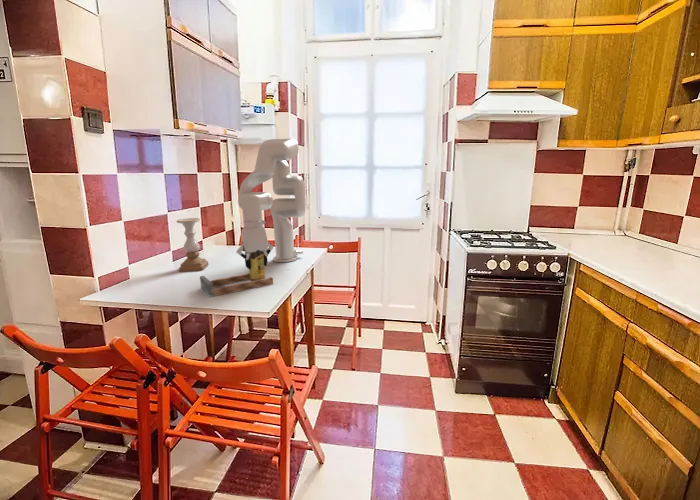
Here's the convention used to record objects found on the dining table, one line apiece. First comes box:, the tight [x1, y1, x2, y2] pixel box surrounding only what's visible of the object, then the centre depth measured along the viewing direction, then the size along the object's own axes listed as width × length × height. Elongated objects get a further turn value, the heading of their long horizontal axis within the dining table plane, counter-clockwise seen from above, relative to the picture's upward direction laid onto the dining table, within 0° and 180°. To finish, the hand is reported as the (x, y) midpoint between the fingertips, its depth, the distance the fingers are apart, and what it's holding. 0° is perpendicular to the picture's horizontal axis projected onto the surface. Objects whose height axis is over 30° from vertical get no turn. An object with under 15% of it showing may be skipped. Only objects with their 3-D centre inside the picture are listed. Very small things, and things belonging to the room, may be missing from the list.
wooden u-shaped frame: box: [199, 272, 274, 298], centre depth 150 cm, size 26×13×5 cm, turn 124°
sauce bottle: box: [248, 250, 266, 281], centre depth 153 cm, size 7×6×20 cm
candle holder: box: [176, 217, 209, 273], centre depth 176 cm, size 11×11×24 cm
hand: (256, 266), depth 154 cm, fingers closed on sauce bottle, 6 cm apart
